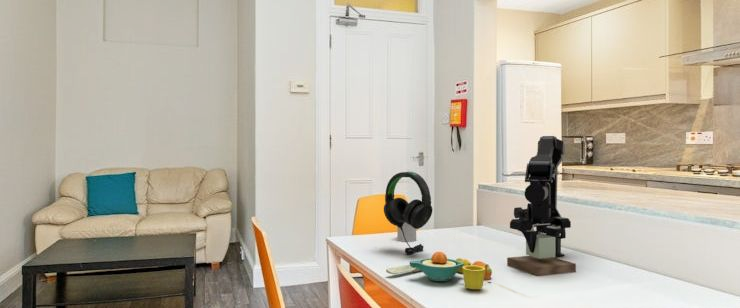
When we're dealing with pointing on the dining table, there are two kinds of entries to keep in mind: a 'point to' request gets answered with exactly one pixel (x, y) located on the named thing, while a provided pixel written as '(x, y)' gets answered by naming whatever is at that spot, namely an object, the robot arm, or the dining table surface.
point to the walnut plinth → (541, 265)
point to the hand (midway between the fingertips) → (540, 251)
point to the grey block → (406, 233)
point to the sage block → (542, 247)
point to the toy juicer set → (448, 269)
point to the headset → (408, 207)
